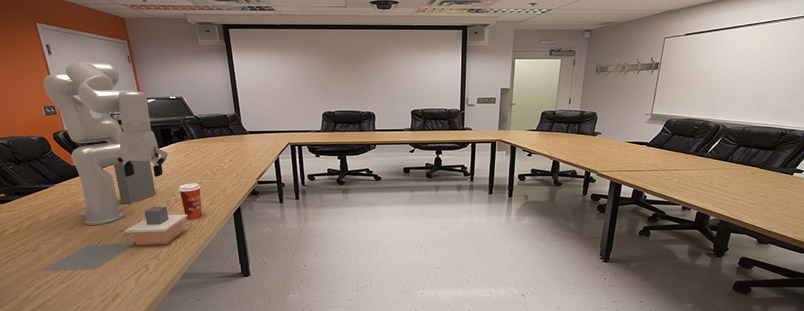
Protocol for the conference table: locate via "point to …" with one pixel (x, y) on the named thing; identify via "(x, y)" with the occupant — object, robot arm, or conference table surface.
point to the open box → (158, 236)
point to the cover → (156, 221)
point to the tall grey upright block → (135, 182)
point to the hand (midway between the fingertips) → (144, 175)
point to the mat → (88, 257)
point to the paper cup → (191, 200)
